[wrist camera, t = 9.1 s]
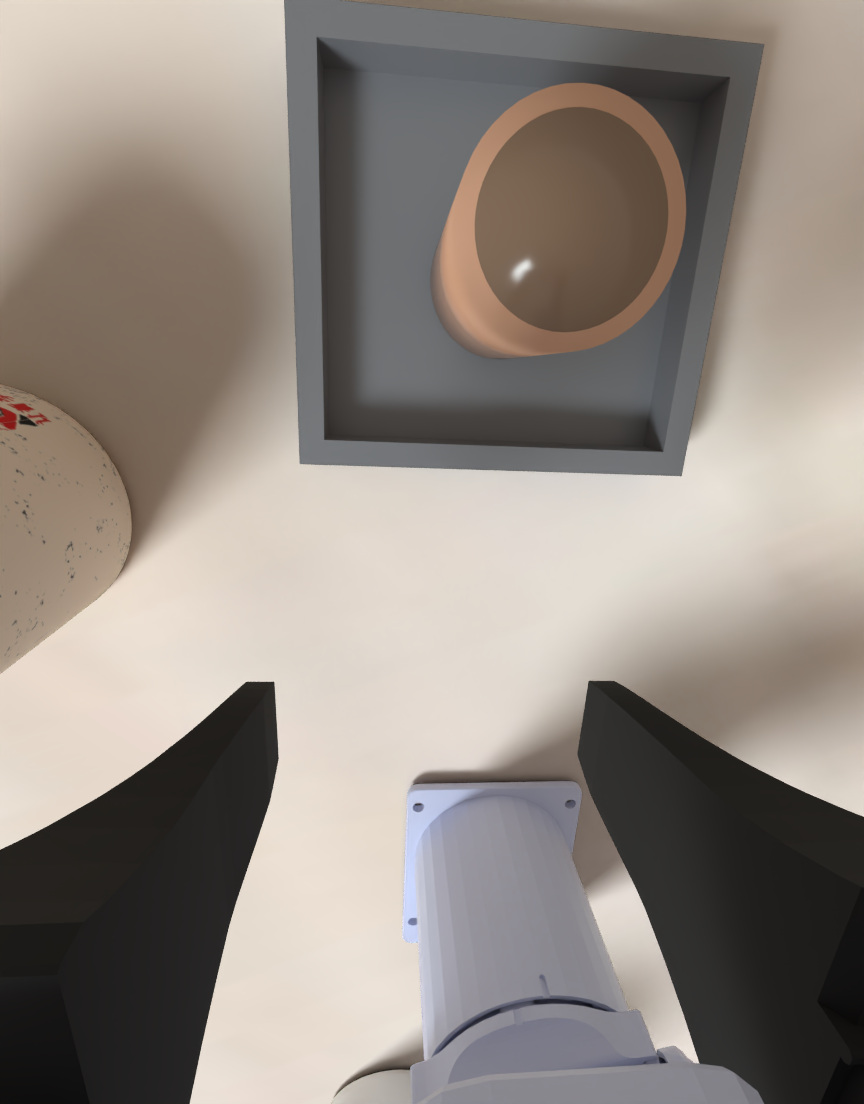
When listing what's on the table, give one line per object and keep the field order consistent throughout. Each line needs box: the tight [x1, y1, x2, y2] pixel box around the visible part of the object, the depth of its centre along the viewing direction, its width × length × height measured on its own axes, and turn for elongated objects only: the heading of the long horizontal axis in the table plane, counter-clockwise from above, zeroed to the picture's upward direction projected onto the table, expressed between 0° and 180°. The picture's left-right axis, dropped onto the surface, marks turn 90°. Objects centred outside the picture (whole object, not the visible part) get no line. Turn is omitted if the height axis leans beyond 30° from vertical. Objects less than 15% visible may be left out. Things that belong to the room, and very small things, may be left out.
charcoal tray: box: [284, 0, 764, 476], centre depth 17 cm, size 12×13×2 cm
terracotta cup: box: [430, 83, 686, 360], centre depth 14 cm, size 5×5×7 cm
